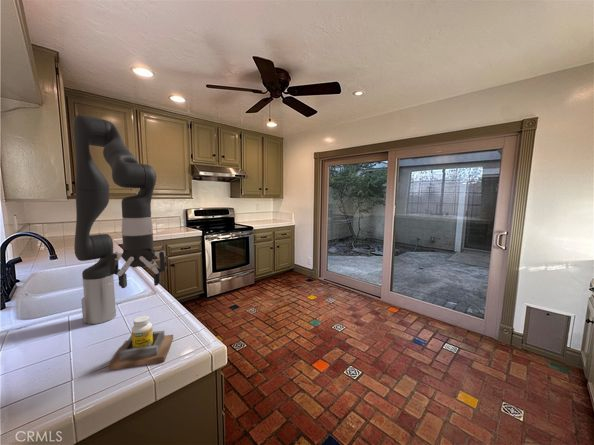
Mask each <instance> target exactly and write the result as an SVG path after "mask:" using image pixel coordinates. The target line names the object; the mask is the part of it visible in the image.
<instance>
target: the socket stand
mask: <svg viewBox="0 0 594 445" xmlns="http://www.w3.org/2000/svg"><path fill="white" fill-rule="evenodd" d="M173 341H174V334H168V335H167V334H166V335H165V330H157V331H153V346H146V347H139V348H133V345H132V334H131V335H130V336H129V338H128V339H125V341H124V342H123V344H122V345H121V346H120V347H119V349H118V351H117V352H116V353H115V355H114V356H113V358H112V359H111V361H110V362H109V363H108V365H107V367H108V371H112V370H118V369H126V368H132V367H139V366H144V365H151V364H159V363H164V362H165V361H166V359H167V356H168V354H169V351H170V349H171V346H172V344H173Z"/></svg>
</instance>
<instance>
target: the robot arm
mask: <svg viewBox="0 0 594 445" xmlns="http://www.w3.org/2000/svg"><path fill="white" fill-rule="evenodd" d="M73 137H74V138H73V139H74V140H73V141H74V149H75V151H74V152H75V167H76V168H75V208H76V209H75V210H76V217H75V218H76V221H75V222H76V223H75V233H74V234H75V236H74V254H75V257H76V259H77V260H78V261H80V262H87V261H92V260H98V261H97V262H96V263H94V264H93V265H91V266H89V267H87V268H85V269H83V271H82V276H81V278H82V286H83V288H82V289H83V297H82V298H81V312H82V314H81V315H82V322H83V323H82V324H87V325H96V324H102V323H106V322H108V321H111V320H112V319H114V318H115V317H116V316H117V308H116V307H117V306H116V294H115V293H116V292H115V280H114V278H115V277H114V275H116V276H118V286H119V287H120V288H121V289H125V288H127V286H128V280H127V279H128V278H127V277H128V276H127V271H128V270H129V269H130V267H131V268H137V267H138V268H139V267H140V268H145V267H147V268H148V269H149V270H151V271H152V272H153V285H154V286H155V287H157V286H158V285H159V284H160V283H161V281H162V275H161V274H162V272H165V271H166V270H167V269H168V262H167V253H166V252H167V251H166V250H161V251H155V249H154V232H153V231H154V230H153V226H154V225H153V221H152V208H151V207H152V205H151V204H152V198H153V193H154V189H155V187H156V182H157V172H156V171H155V169H154V167H152V165H149V164H146V163H139V162H138V159H137V158H136V156H135V155H134V154H133V153H132V152H131V151H130V149H129V148H128V147H127V146H126V144H125V142H124V140H123V137H122V136H121V134H120V132H119V130H118V128H117V127H116V126H115V124H114V123H112V122H111V121H109V120H106V119H102V118H97V117H95V116H89V115H84V114H77V115H76V116H75V117H74V119H73ZM90 146H95V147H99V148H100V147H101V148H103V150H102V156H103V157H104V160H105V161H106V163H107V164H108V165H109V166H110V168H111V178H112V182H113V183H114V184H116V185H117V186H118V187H120V188H123V189H124V188H126V189H139V191H138V193H137V194H134V195H131V196H125V197H124V198H122V199H121V216H122V221H121V235H122V236H121V238H122V252H117V251H115V252H114V242H113V238H112V236H111V235H110V234H108V233H101V234H99V233H98V234H90V233H91V229H92V227H93V224H94V223H95V222H96V220H97V219H98V218H99V216H100V215H101V214H102V213H103V212H104V211H105V209H106V208H107V206H108V204H109V202H110V184H109V181H108V180H107V178H106V176H105V175H104V174H103V173H102V171H101V170H100V169H99V167H98V166H97V164H96V163H95V161H94V159H93V158H92V155H91V151H90ZM155 257H156V258H157V259H158V260H159V266H158V264H157V262H156V261H155V260H154V258H155ZM121 258H122V259H123V260H124V261H125V262H124V264H123V265H122V267H121V268H120V269H119V261H120V260H121Z"/></svg>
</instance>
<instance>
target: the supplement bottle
mask: <svg viewBox="0 0 594 445" xmlns="http://www.w3.org/2000/svg"><path fill="white" fill-rule="evenodd" d="M153 332H154V331H153V324H152V322H150V316H148V315H140V316H138V317H136V318H134V319H133V326H132V327H131V335H132V345H133V348H139V347H146V346H153Z"/></svg>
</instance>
